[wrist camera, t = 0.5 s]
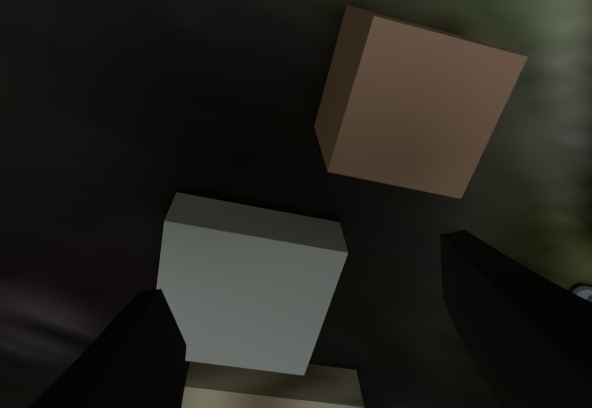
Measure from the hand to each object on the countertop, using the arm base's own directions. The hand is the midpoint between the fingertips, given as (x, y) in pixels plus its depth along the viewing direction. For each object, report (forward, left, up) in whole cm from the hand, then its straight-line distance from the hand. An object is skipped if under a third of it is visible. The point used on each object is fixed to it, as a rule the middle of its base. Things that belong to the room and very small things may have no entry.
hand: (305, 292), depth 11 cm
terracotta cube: (-3, -4, -10) cm, 11 cm away
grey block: (+1, +7, -10) cm, 12 cm away
